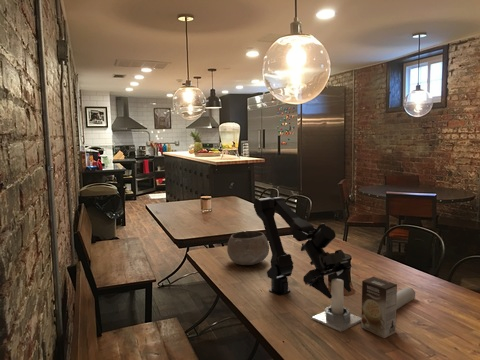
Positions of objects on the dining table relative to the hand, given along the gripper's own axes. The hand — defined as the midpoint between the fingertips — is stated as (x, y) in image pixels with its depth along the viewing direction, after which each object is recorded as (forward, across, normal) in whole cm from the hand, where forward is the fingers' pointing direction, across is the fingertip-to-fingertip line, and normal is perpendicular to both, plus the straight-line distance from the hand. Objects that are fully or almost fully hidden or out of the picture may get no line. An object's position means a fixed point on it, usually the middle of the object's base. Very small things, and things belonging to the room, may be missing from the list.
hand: (340, 294), depth 133 cm
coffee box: (+15, +5, -1) cm, 16 cm away
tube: (+10, +25, +4) cm, 27 cm away
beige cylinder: (+5, 0, +7) cm, 9 cm away
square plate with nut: (+6, 0, +8) cm, 9 cm away
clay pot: (-42, +10, +56) cm, 71 cm away
